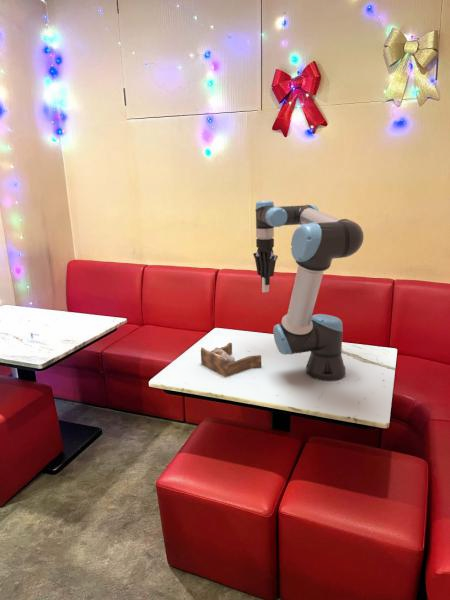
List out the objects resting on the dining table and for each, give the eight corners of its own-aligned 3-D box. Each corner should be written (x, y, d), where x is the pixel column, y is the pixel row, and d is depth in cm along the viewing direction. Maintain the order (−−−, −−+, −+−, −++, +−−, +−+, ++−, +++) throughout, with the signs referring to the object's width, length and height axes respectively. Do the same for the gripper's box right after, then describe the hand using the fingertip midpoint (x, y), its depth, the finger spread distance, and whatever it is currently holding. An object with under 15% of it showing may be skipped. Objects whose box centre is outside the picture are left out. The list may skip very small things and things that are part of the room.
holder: (262, 367, 175) (262, 349, 173) (229, 379, 165) (228, 361, 163) (230, 352, 191) (230, 336, 189) (198, 363, 180) (197, 346, 178)
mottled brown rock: (233, 369, 172) (219, 350, 170) (217, 375, 178) (202, 357, 176) (241, 358, 178) (227, 339, 176) (224, 364, 184) (211, 346, 182)
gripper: (282, 238, 179) (282, 292, 185) (261, 236, 189) (261, 287, 195) (269, 240, 175) (269, 295, 181) (248, 237, 185) (249, 290, 191)
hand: (265, 291), depth 188 cm, fingers closed
